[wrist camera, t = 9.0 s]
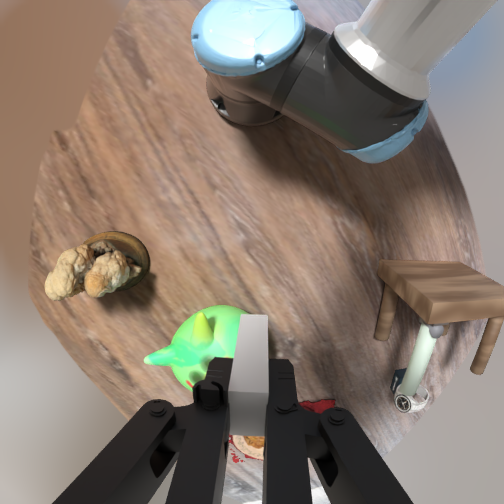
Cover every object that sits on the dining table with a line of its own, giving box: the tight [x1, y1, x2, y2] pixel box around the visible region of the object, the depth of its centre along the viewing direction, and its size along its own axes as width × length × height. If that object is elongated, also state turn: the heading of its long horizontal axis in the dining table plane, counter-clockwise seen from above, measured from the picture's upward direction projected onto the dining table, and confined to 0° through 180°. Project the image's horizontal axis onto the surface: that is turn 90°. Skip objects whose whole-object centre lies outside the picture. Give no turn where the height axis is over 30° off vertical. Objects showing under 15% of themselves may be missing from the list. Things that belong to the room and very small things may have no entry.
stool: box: [375, 259, 504, 375], centre depth 42 cm, size 15×20×20 cm
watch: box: [390, 368, 429, 413], centre depth 52 cm, size 6×8×11 cm
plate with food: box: [229, 399, 335, 463], centre depth 61 cm, size 25×26×4 cm
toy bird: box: [144, 305, 248, 392], centre depth 48 cm, size 18×17×15 cm
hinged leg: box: [399, 317, 444, 396], centre depth 36 cm, size 13×3×4 cm, turn 178°
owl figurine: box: [45, 231, 149, 301], centre depth 44 cm, size 18×12×17 cm, turn 102°
